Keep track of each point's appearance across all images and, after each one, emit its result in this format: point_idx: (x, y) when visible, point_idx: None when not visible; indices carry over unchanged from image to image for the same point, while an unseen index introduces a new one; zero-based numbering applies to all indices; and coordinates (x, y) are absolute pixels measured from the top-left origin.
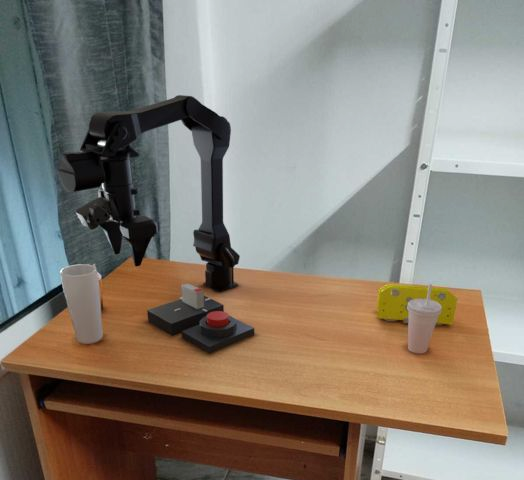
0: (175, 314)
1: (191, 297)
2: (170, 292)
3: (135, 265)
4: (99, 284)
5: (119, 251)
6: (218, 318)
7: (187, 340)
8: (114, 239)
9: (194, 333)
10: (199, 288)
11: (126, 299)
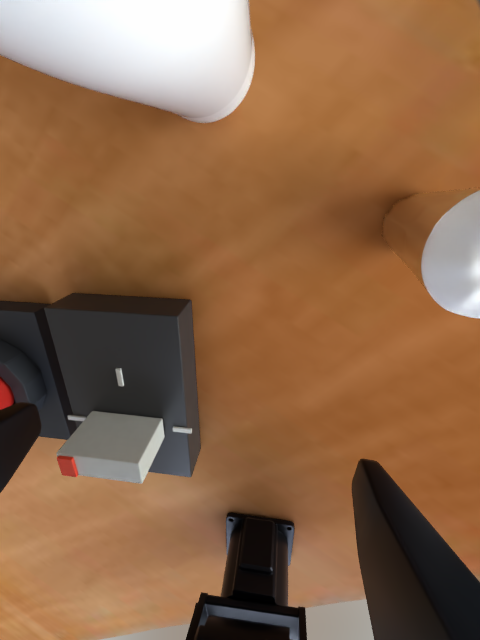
0: (95, 354)
1: (101, 435)
2: (324, 456)
3: (16, 404)
4: (413, 267)
5: (353, 501)
6: None
7: (25, 303)
8: (412, 633)
9: (5, 326)
10: (70, 473)
11: (394, 353)
